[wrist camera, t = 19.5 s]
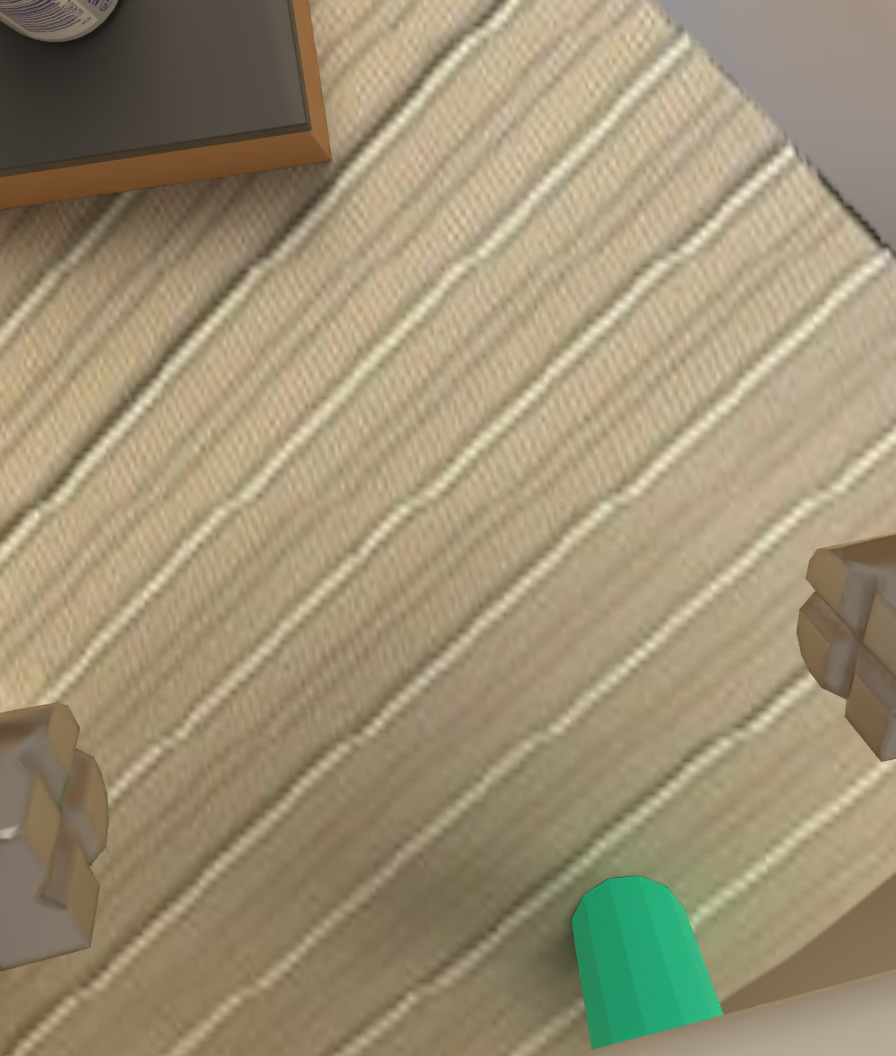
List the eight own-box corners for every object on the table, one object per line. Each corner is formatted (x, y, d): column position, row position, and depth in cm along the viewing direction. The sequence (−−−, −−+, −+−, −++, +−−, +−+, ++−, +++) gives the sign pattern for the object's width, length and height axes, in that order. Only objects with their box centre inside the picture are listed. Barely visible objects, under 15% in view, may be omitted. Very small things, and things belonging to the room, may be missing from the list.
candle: (663, 859, 43) (733, 1050, 32) (703, 955, 44) (785, 1173, 33) (553, 898, 44) (582, 1099, 32) (595, 991, 45) (637, 1218, 33)
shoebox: (-7, 218, 38) (-121, 188, 31) (-80, -101, 35) (-222, -216, 28) (340, 167, 37) (307, 124, 30) (291, -164, 34) (242, -299, 27)
